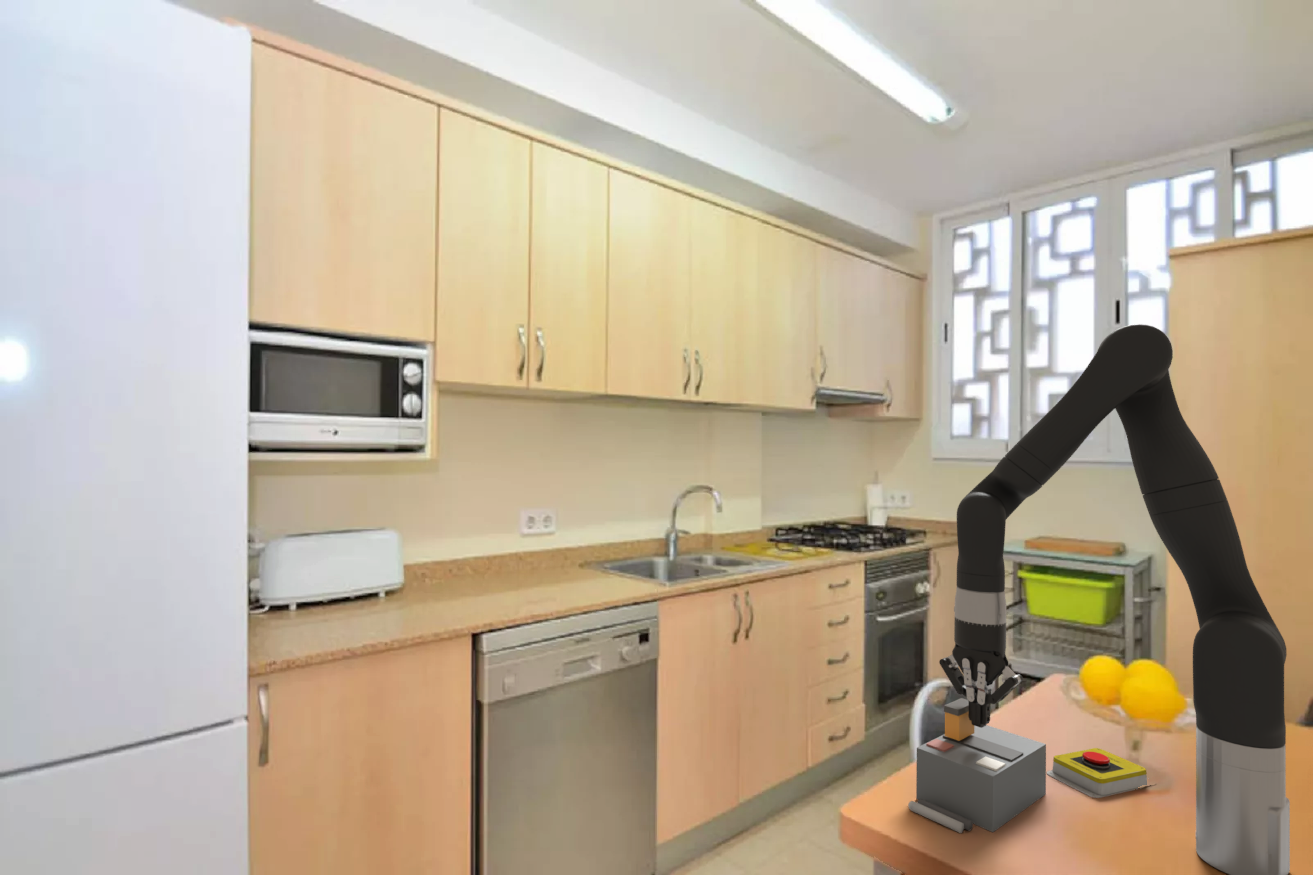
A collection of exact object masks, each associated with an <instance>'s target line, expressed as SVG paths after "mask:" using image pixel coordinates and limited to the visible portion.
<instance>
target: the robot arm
mask: <svg viewBox="0 0 1313 875" xmlns="http://www.w3.org/2000/svg"><path fill="white" fill-rule="evenodd" d="M1173 358H1174V357H1173V345H1172V342H1171V341H1170V339H1169V337H1168V336H1167V335H1166V333H1164V331H1162V330H1161V329H1159V328H1158V327H1155V326H1153V325H1149V324H1143V323H1137V324H1129V325H1125V326H1122V327H1119V328H1117V329H1115V330H1114V331H1112V332H1111V333H1109V334H1108V335H1107V336H1106V337H1105V338H1104V339H1103V340H1102V341H1101V343H1100V344H1099V346H1098V348H1097V351H1096V353H1095V354H1094V356H1093V358H1092V359H1091V360H1090V362H1089V363H1088V365H1087V366H1086V368H1085V369H1084V370H1083V372H1082V373H1081V375H1080V376H1079V377H1078V379H1077V380H1076V381H1075V382H1074V384H1073V385H1072V386H1071V387H1070V388H1069V389H1068V390H1067V392H1066V393H1065V394H1064V395H1063V396H1062V398H1060V399H1059V400H1058V402H1057V403H1056V404H1055V405H1054V406H1053V407H1052V408H1051V409H1050V410H1049V411H1048V412H1047V413H1046V414H1045V415H1043V417H1042V418H1041V419H1040V420H1039V421H1037V423H1036V424H1034V425H1033V426H1032V427H1031V429H1030V430H1028V432H1026V433H1025V434H1024V435H1023V436H1022V437H1021V439H1019V441H1017V442H1016V443H1015V445H1013V446H1012V447H1011V449H1010V450H1009V451H1008V452H1007V453H1005V455H1004V456H1003V457H1002V458H1001V459H1000V460H999V462H998V463H997V465H996V466H995V467H994V469H993V470H992V471H991V472H990V473H989V474H987V475H986V476H985V477H984V478H983V479H982V480H981V481H980V482H979V483H978V484H977V485H976V486H974V487H973V488H972V490H970V491H969V492H968V493H967V494H966V495H965V496H964V497H963V498H962V499H961V501H960V502H959V504H958V506H957V509H956V534H957V535H956V539H957V549H958V550H957V552H958V555H957V563H956V590H955V591H956V592H955V596H954V607H953V612H954V628H953V629H954V631H953V632H954V633H953V635H954V637H953V638H954V644H955V645H954V647H953V649H952V652H951V655H948V656H946V657H944V658H940V659H939V662H938V663H939V665H940V666H941V669H942V670H943V671H944V674H945V676H946V677H947V678H948V680H949V681H950V683H951V684H952V687H953V689H954V690H955V691H956V693H957V694H958V695H959V696H960V695H963V696H964V697H965V698H966V699H967V700H968V701H969V713H968V717H969V720H971V723H972V725H974V726H977V727H980V728H982V727H984V726H986V725H988V724H989V723H990V721H991V705H996V704H997V703H1000V702H1001V701H1003V700H1004V699H1005V698H1006V697H1007V696H1009V694H1011V693H1012V691H1014V690H1015V689H1016V688H1017V687H1018V686H1019V685H1020V684H1021V683H1022V682H1023V680H1024V678H1023V676H1022V674H1019V673H1017V674H1016V673H1015V672H1014V671H1013V670H1012V669H1011V668H1010V667H1009V660H1008V658H1007V656H1006V648H1007V600H1006V589H1005V588H1006V569H1005V568H1006V567H1005V561H1004V559H1005V558H1004V551H1005V539H1006V521H1007V519H1008V518H1009V517H1010V516H1011V515H1012V514H1013V513H1014V512H1015V510H1017V509H1018V507H1020V505H1022V503H1023V502H1024V501H1025V500H1026V499H1028V498H1029V497H1031V496H1033V495H1034V494H1035V493H1036V492H1038V491H1039V490H1040V489H1041V488H1043V486H1044V485H1045V484H1046V483H1048V481H1049V480H1050V479H1052V477H1054V475H1055V474H1056V473H1057V472H1058V471H1059V470H1060V469H1061V468H1063V466H1064V465H1065V464H1066V463H1067V462H1068V460H1069V459H1071V457H1072V456H1073V455H1074V454H1075V452H1076V451H1077V450H1078V448H1080V447H1081V445H1082V444H1083V443H1084V442H1085V440H1086V439H1087V438H1088V437H1089V436H1090V434H1091V433H1092V432H1093V431H1094V430H1095V429H1096V428H1097V427H1098V426H1099V424H1101V422H1103V420H1105V419H1106V417H1107V416H1109V414H1111V413H1112V411H1114V410H1115V411H1116V412H1117V414H1118V415H1117V416H1118V417H1119V419H1120V421H1121V424H1122V426H1123V429H1124V432H1125V436H1126V438H1127V439H1126V440H1127V444H1128V449H1129V452H1130V457H1131V458H1130V459H1131V460H1132V464H1133V466H1132V467H1133V469H1134V473H1135V476H1136V478H1137V482H1138V486H1139V489H1140V492H1141V493H1140V494H1141V495H1142V499H1143V501H1144V503H1145V506H1146V510H1147V511H1148V515H1149V517H1150V520H1151V522H1152V524H1153V526H1154V528H1155V530H1156V532H1157V534H1158V537H1159V538H1160V539H1161V542H1162V543H1163V545H1164V546H1165V548H1166V549H1167V551H1168V553H1169V555H1170V556H1171V558H1172V559H1173V560H1174V562H1175V564H1176V565H1177V566H1178V568H1179V570H1180V572H1181V573H1182V575H1183V577H1184V579H1185V582H1186V584H1187V586H1188V589H1189V592H1190V595H1191V599H1192V602H1193V606H1194V609H1195V613H1196V616H1197V621H1198V626H1199V630H1197V633H1196V634H1195V636H1194V638H1193V639H1194V640H1193V645H1192V693H1193V694H1192V695H1193V696H1192V699H1193V700H1192V701H1193V702H1192V703H1193V706H1194V707H1193V708H1194V710H1195V725H1196V726H1195V739H1196V740H1195V851H1196V853H1197V855H1198V856H1199V857H1200V858H1201V859H1202V860H1203V861H1204V862H1205V863H1207V865H1210V866H1211V867H1212V868H1213V867H1214V868H1215V869H1217V870H1219V871H1221V872H1223V873H1225V874H1228V875H1289V874H1290V871H1291V870H1290V868H1291V867H1290V866H1291V864H1290V862H1291V861H1290V860H1291V856H1290V855H1291V853H1290V852H1291V850H1290V848H1291V847H1290V845H1291V842H1290V839H1291V838H1290V836H1291V835H1290V834H1291V832H1290V830H1291V829H1290V826H1291V825H1290V823H1291V822H1290V821H1291V820H1290V819H1291V818H1290V815H1291V814H1290V812H1291V811H1290V810H1291V809H1290V805H1291V804H1290V803H1291V802H1290V799H1289V798H1288V797H1287V796H1286V795H1287V794H1286V792H1287V791H1286V790H1287V788H1286V783H1287V781H1286V780H1287V779H1286V770H1287V768H1286V765H1287V764H1286V759H1287V758H1286V753H1287V752H1286V744H1287V743H1286V742H1287V739H1286V736H1287V735H1286V733H1287V732H1286V731H1287V730H1286V727H1287V726H1286V718H1285V717H1286V716H1285V664H1286V659H1287V655H1288V654H1287V645H1286V643H1285V639H1284V637H1283V636H1282V634H1281V631H1280V629H1279V628H1278V626H1277V624H1276V623H1275V621H1274V619H1273V617H1272V616H1271V614H1270V612H1269V610H1268V608H1267V606H1266V604H1265V603H1264V601H1263V599H1262V596H1261V594H1260V593H1259V591H1258V589H1257V587H1256V585H1255V583H1254V580H1253V579H1252V576H1251V573H1250V571H1249V568H1248V565H1247V562H1246V557H1245V554H1244V553H1245V552H1244V550H1243V545H1242V541H1241V538H1240V534H1239V531H1238V528H1237V524H1236V521H1235V519H1234V518H1235V517H1234V516H1233V513H1232V510H1231V509H1232V508H1231V507H1230V504H1229V501H1228V497H1227V495H1226V493H1225V490H1224V487H1223V485H1222V482H1221V480H1220V478H1219V476H1218V475H1219V474H1218V473H1217V470H1216V469H1215V467H1214V464H1213V463H1212V460H1210V457H1209V456H1208V454H1207V453H1206V451H1205V450H1204V448H1203V446H1202V445H1201V443H1200V441H1199V439H1197V437H1196V436H1195V435H1194V433H1193V431H1192V430H1191V428H1190V427H1189V425H1188V424H1187V422H1186V421H1185V419H1184V417H1183V415H1182V413H1181V410H1180V407H1179V405H1178V402H1177V401H1178V400H1177V398H1176V395H1175V391H1174V388H1173V386H1172V384H1173V383H1172V381H1171V380H1172V379H1171V376H1170V371H1169V369H1170V367H1171V365H1172V362H1173ZM1002 675H1003V676H1002ZM1000 676H1002V677H1001V681H1002V684H1000V686H999V687H998V688H996V690H995V691H994V692H993V689H994V687H995V681H997V679H999V678H1000Z"/></svg>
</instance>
